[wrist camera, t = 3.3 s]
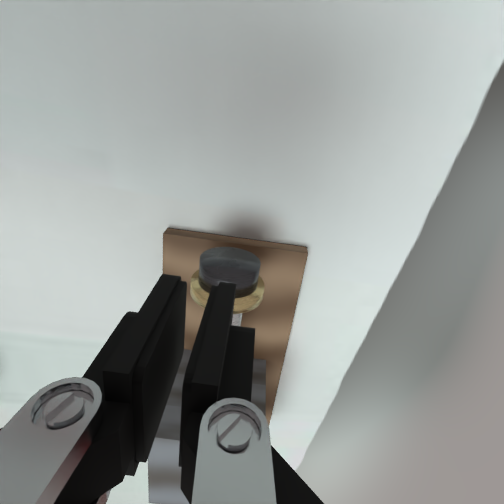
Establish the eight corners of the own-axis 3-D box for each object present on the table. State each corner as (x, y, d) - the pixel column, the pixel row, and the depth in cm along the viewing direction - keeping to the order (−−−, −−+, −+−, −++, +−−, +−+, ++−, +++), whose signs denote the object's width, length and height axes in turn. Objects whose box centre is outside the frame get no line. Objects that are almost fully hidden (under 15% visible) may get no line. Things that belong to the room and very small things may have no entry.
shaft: (200, 239, 28) (183, 273, 22) (268, 249, 28) (268, 284, 22) (190, 393, 36) (176, 445, 30) (243, 400, 36) (238, 453, 30)
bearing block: (167, 228, 32) (114, 293, 21) (306, 247, 32) (325, 322, 21) (165, 401, 42) (128, 505, 31) (268, 415, 43) (268, 523, 32)
